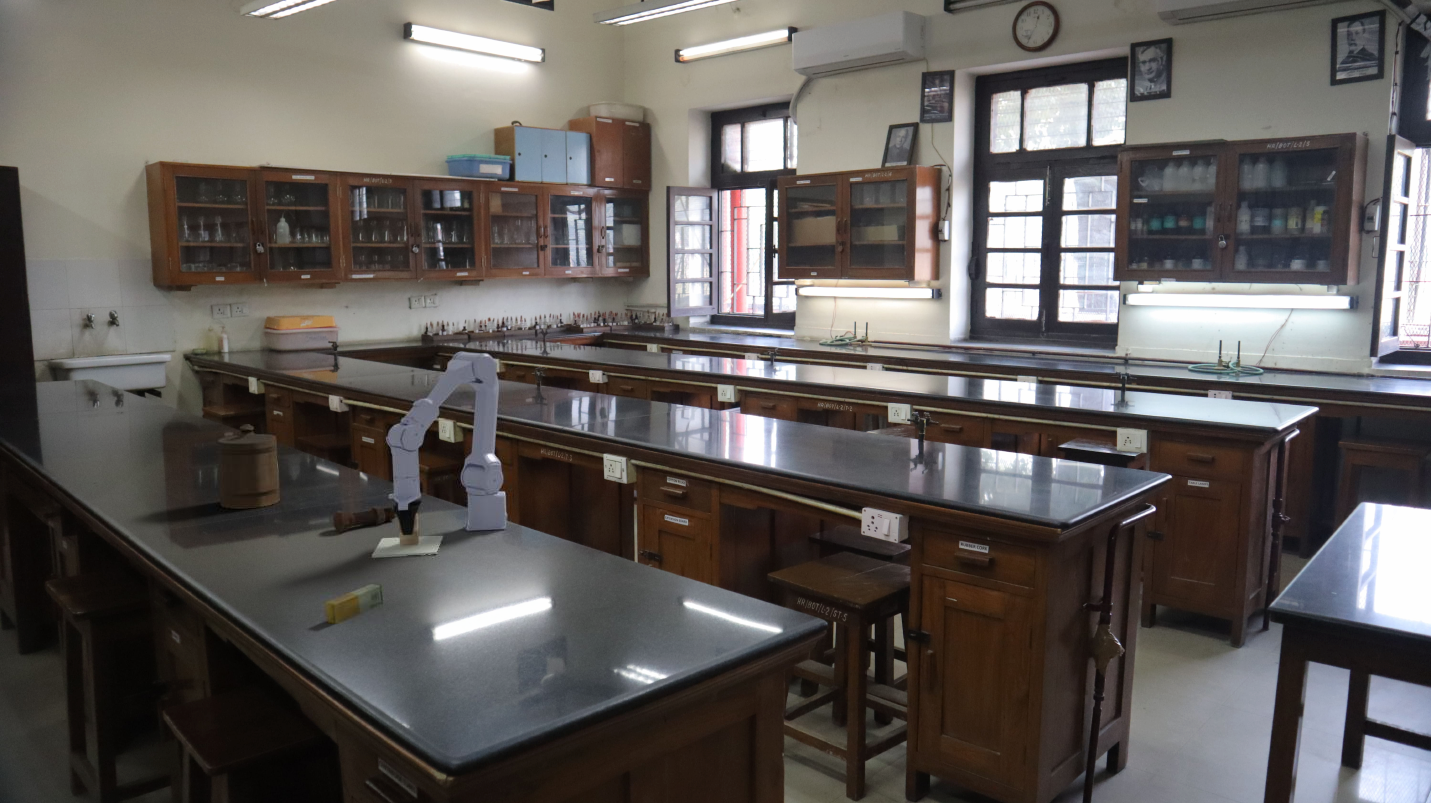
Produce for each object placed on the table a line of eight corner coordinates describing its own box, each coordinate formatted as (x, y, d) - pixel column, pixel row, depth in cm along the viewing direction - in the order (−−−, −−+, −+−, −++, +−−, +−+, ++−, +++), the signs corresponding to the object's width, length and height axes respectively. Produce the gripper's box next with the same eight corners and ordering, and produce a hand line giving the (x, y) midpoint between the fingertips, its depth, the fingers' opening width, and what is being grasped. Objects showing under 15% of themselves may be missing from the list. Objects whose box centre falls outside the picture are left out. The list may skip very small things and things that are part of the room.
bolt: (395, 527, 250) (339, 537, 238) (386, 515, 252) (330, 524, 241) (401, 510, 247) (345, 519, 236) (392, 498, 250) (336, 506, 239)
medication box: (373, 602, 189) (372, 582, 188) (384, 604, 188) (382, 584, 187) (325, 622, 178) (323, 601, 177) (336, 624, 177) (334, 603, 176)
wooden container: (290, 497, 274) (286, 420, 271) (261, 510, 259) (256, 429, 256) (241, 496, 276) (236, 419, 273) (209, 508, 261) (203, 428, 258)
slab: (419, 541, 228) (417, 512, 227) (417, 544, 225) (416, 515, 224) (401, 542, 227) (400, 513, 226) (399, 545, 224) (398, 516, 223)
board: (442, 537, 233) (442, 535, 233) (436, 554, 219) (436, 552, 219) (382, 540, 231) (382, 538, 231) (372, 557, 217) (371, 555, 217)
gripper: (393, 469, 230) (395, 525, 232) (383, 483, 216) (385, 542, 218) (423, 469, 231) (425, 524, 233) (415, 482, 217) (418, 540, 219)
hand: (408, 532), depth 226 cm, fingers closed on slab, 2 cm apart
